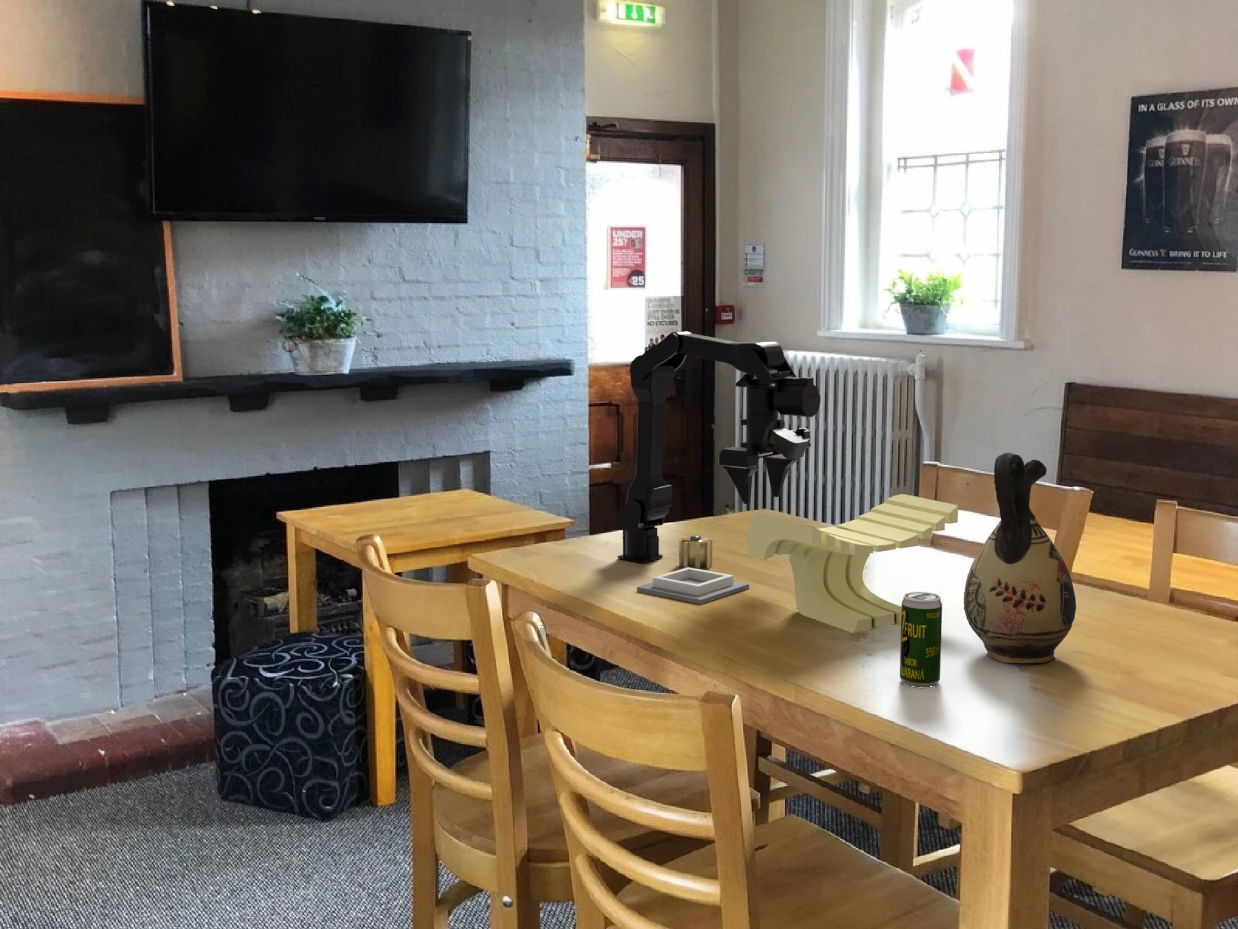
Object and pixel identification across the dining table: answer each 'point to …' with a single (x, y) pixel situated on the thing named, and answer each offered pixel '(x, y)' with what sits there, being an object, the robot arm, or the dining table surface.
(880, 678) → the dining table surface
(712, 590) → the carrier plate
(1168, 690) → the dining table surface
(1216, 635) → the dining table surface
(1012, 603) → the ceramic jug
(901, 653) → the green soda can
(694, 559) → the gear
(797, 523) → the slatted curved stool
